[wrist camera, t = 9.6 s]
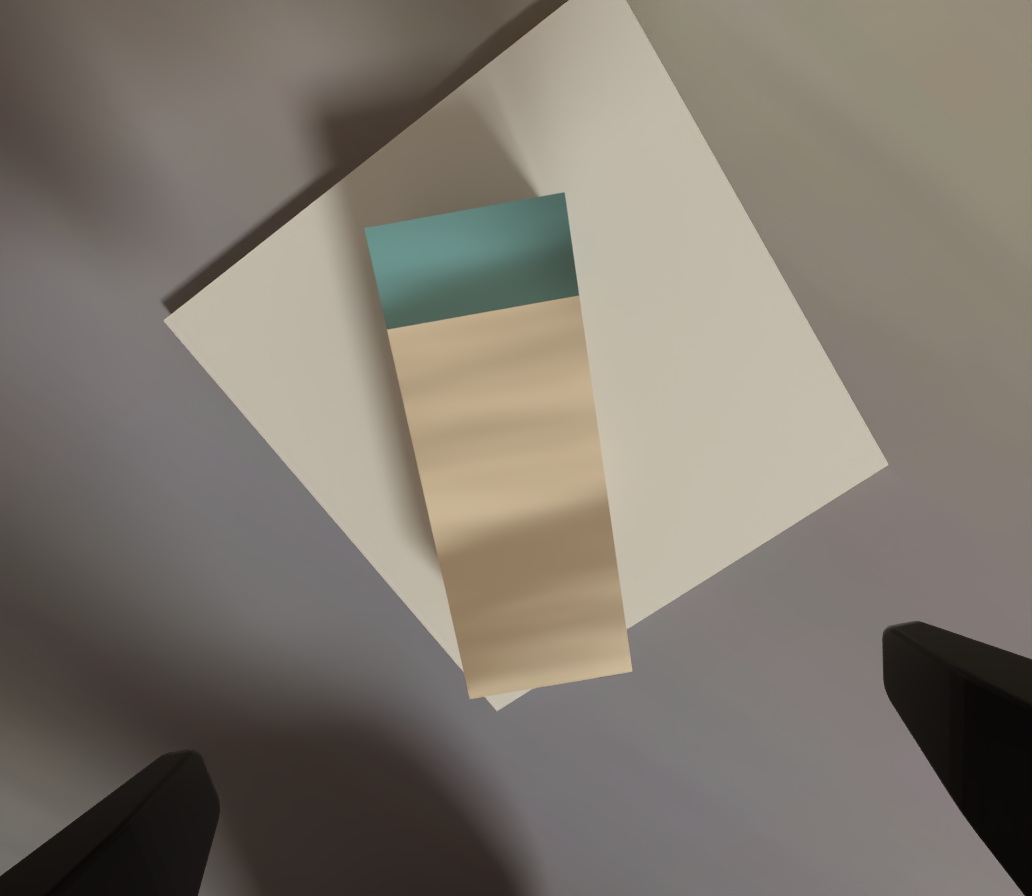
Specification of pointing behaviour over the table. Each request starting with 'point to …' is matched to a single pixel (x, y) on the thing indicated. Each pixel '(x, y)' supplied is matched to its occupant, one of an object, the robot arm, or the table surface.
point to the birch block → (506, 439)
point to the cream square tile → (605, 311)
